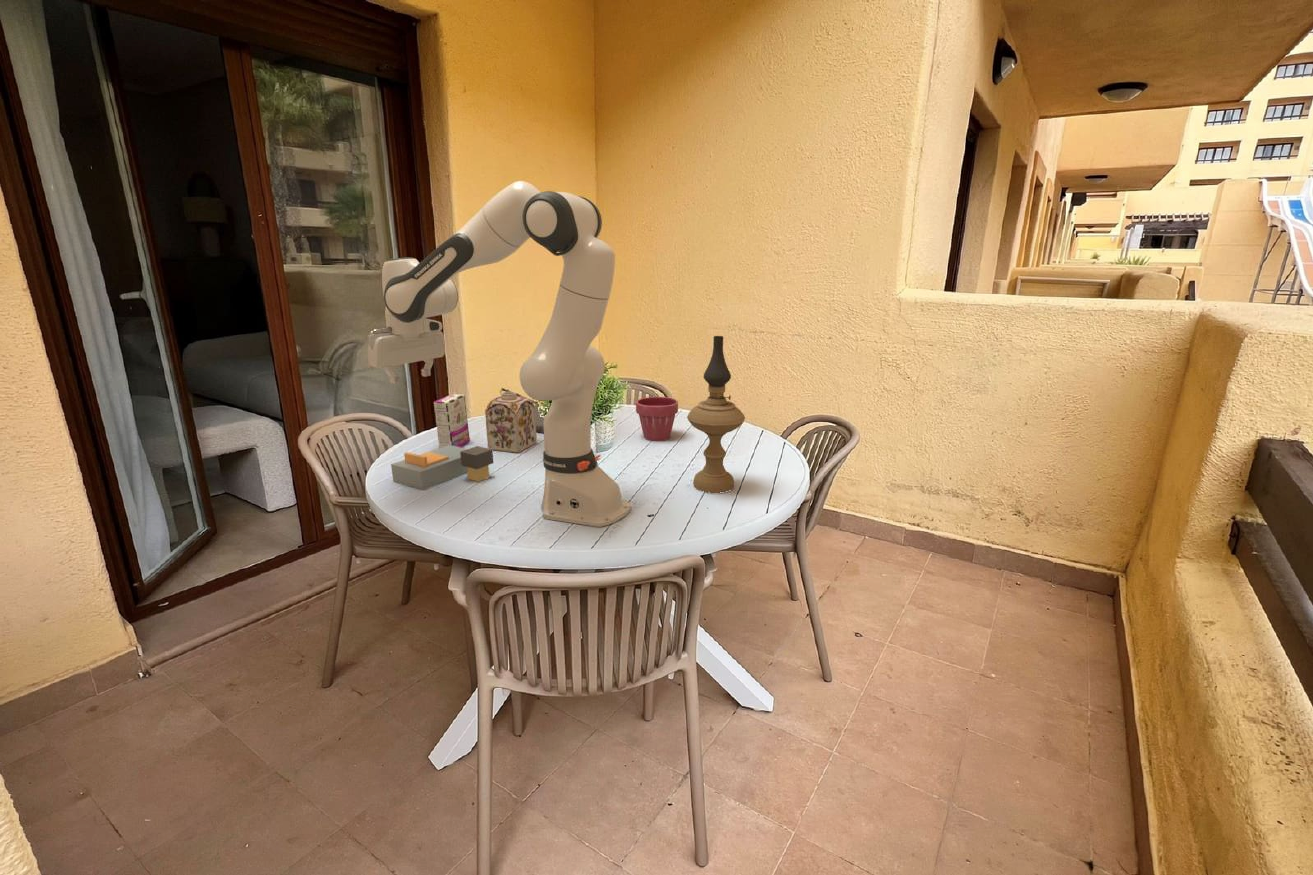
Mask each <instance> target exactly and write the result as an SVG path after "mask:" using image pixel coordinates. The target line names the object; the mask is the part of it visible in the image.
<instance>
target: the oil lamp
mask: <svg viewBox="0 0 1313 875" xmlns="http://www.w3.org/2000/svg"><path fill="white" fill-rule="evenodd" d="M731 379H732V374H731V373H730V370H729V368H728V364H727V363H726V360H725V355H724V336H722V335H714V336H713V348H712V356H711V358H710V361H709V364H708V366H707V368H706V369H705V371H704V372H703V380H704V381H705V382H706V383H707V384H708V388H707V389H708V391H707V392H708V393H709V396H707V398H706V400H702V401H700V402H698V403H697V405H696V406H694V407H693V408H691V409H690V410H689V412H688V414H687V417H686V419H687V420H688V422H689V423H690V424H691V425H692V427H693V428H695V429H697V430H698V431H701V432H702V433H704V434H706V435H707V437H708V440H709V442H708V445H707V446H706V448H705V449H704V450H703V453H702V454H703V456H704V458H705V465H704V467H703V468H702V469H701V470H700V471H698V472H697V473H695V475H694V477H693V482H692V483H693V484H692V486H693V485H694V486H693V488H694V487H695V488H696V489H695V488H694V489H695V490H697V491H698V490H701V491H704V492H703V493H705V492H710V493H709V494H715V493H719V494H721V493H720V492H726V491H729V490H731V491H732V489H733V488H735V479H734V476H733V475H732V474H731V473H730V472H728V471H727V470H726V468H725V466H724V459H725V457H726V455H727V452H726V450H725V449H724V447H723V445H722V441H721V440H722V439H723V437H724V436H725V435H726V434H727V433H731V432H734V431H735V430H736V429H739V428H740V427H741V425H742V424H744V422H745V419H746V417H745V414H744V413H743V412H742V411H741V409H740V408H738V407H736V404H735V403H734V402H732V401H730V400H731V399H732V396H731V395H728V396H725V395H724V394H725V393H726V384H728V382H730V380H731ZM727 399H728V400H727ZM733 490H734V489H733ZM701 491H700V492H701ZM729 492H730V491H729ZM726 493H727V492H726Z"/></svg>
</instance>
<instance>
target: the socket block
mask: <svg viewBox="0 0 1313 875" xmlns="http://www.w3.org/2000/svg"><path fill="white" fill-rule="evenodd" d="M467 449H468V448H465V447H456V446H452V445H448V446H445V447H442V448H439V447H438V448H437V449H433V450H431V451H427V452H424V453H422V454H425V453H428V452H431V453H435V454H439V455H443V456H447V457H449V459H447V460H444V461H441V462H438V463H435V464H432V465H429V466H427V467H422V466H418V465H415V464H411V463H407V462H405V459H403V460H399V461H397V462H394V463H391V464H390V467H391V468H390V469H391V474H392V475H391V476H392V481H393V482H394V481H395V483H398V484H401V485H405V486H408V487H412V488H416V489H418V490H422V491H423V490H426V489H428V488H430V487H433V486H436V485H438V484H441V483H443V482H446V481H449V480H452V479H455V478H457V477H459V476H462V475H465V474H468V471H467V467H465V466H462V465H461V455H460V452H461V451H464V450H467ZM422 454H421V453H420V455H422Z"/></svg>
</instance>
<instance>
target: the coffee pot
mask: <svg viewBox="0 0 1313 875" xmlns="http://www.w3.org/2000/svg"><path fill="white" fill-rule="evenodd" d="M503 392H513V391H512V390H509V389H505V388H503V387H502V388H501V389H500V391H499V394H500V395H501V393H503ZM516 394H517V396H522V395H521V394H519V393H517V392H516ZM526 398H527V399H529V400H530V401H531V402H532V403H533V404H534V406H535V420H536V433H544V428H543V422H544V418H543V417H540V415H539V412H538V407H539V404H538V402H537V400H534V399H532V398H528V397H526Z"/></svg>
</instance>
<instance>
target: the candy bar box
mask: <svg viewBox="0 0 1313 875" xmlns="http://www.w3.org/2000/svg"><path fill="white" fill-rule="evenodd" d="M433 408H434V409H433V410H434V415H435V416H434V417H435V423H436V424H435V425H436V432H437V439H438V440H437V441H438V446H439V447H438V449H439V448H442V447H445V446H448V445H452V446H456V447H461V448H463V447H464V446H466V445H467V444H469V443H470V442H471V440H470V438H471V437H470V431H469V424H468V423H469V422H468V412H467V404H466V395H465V394H459V393H452V394H449V395H447V396H445V397H442V398H440V399H438V400H437V399H436V400H435V401H433Z"/></svg>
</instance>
